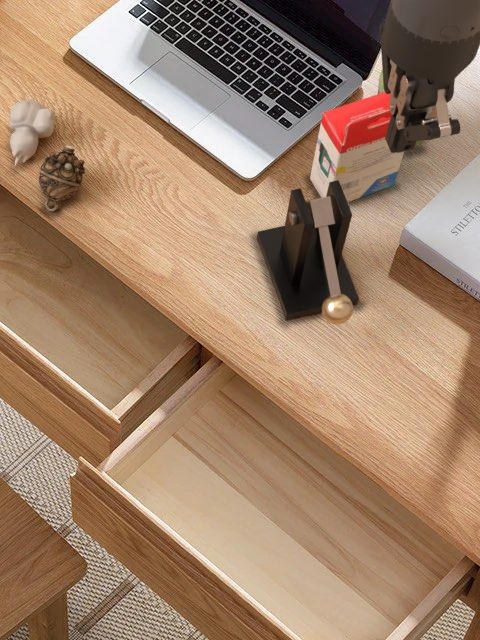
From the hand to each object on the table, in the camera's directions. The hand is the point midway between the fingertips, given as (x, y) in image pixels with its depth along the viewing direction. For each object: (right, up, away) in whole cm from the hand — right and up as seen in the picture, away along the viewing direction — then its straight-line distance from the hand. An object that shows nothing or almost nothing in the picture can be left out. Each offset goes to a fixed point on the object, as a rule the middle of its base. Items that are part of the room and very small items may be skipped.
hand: (398, 144), depth 110 cm
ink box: (+3, +2, +31) cm, 31 cm away
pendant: (-33, +3, +30) cm, 45 cm away
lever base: (-3, -8, +26) cm, 28 cm away
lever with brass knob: (-3, -8, +19) cm, 21 cm away
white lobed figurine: (-33, +12, +34) cm, 49 cm away
